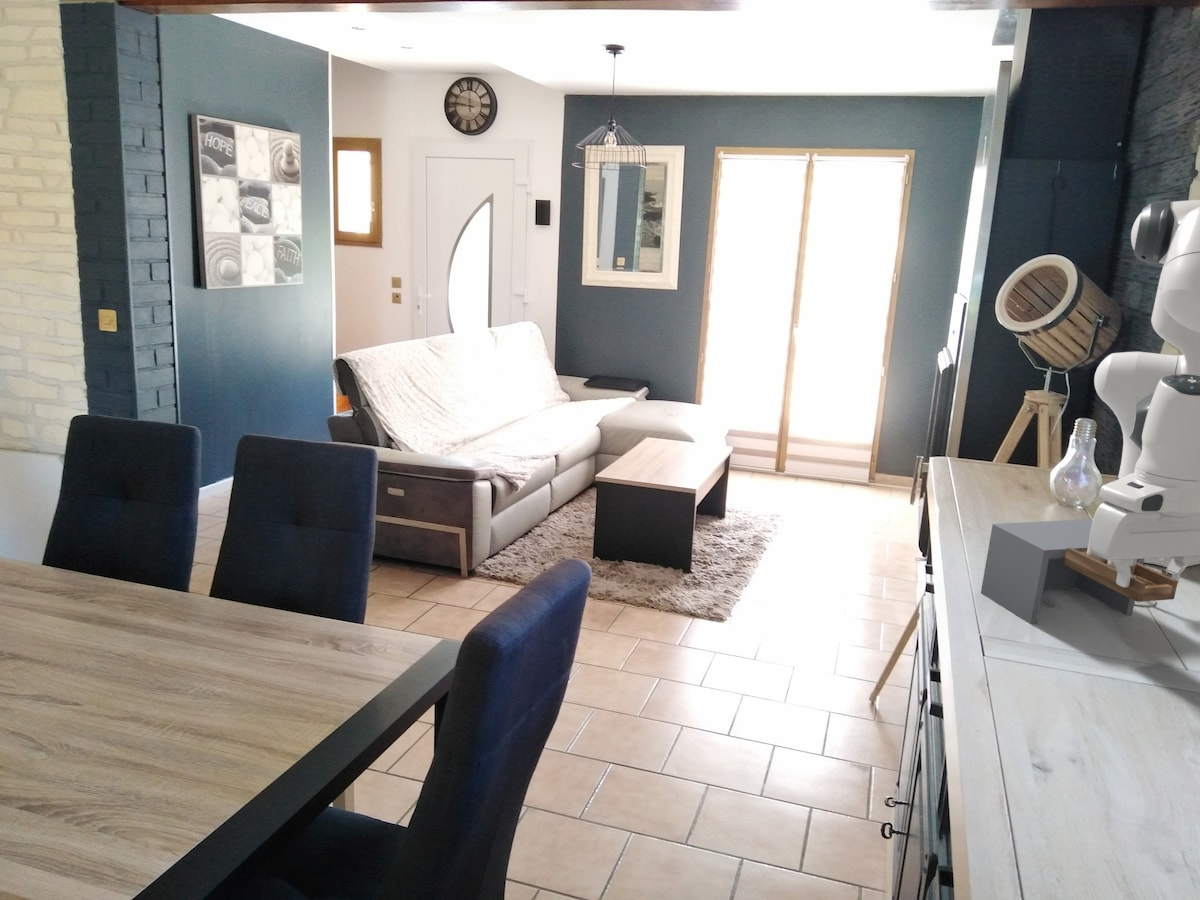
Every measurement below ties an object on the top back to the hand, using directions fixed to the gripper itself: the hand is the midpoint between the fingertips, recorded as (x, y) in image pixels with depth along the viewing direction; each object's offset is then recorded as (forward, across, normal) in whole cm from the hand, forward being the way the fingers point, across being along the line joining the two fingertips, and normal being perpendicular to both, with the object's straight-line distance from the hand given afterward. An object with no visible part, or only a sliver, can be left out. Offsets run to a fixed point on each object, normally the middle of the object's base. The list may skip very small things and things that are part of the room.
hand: (1146, 584), depth 129 cm
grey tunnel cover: (+12, -4, -19) cm, 23 cm away
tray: (+2, 0, -5) cm, 5 cm away
